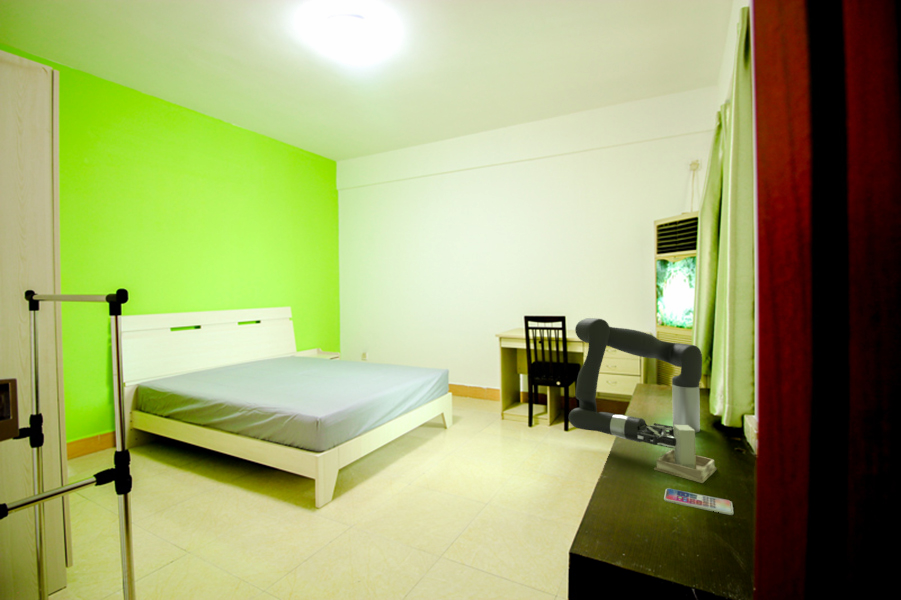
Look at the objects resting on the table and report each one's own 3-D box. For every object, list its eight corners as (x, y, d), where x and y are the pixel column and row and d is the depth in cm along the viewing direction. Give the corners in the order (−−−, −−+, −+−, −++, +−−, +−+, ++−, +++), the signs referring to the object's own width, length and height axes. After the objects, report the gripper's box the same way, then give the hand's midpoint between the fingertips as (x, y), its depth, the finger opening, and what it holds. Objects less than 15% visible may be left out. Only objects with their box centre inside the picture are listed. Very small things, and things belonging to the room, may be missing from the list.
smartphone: (733, 513, 100) (663, 499, 108) (733, 517, 100) (663, 502, 108) (732, 500, 107) (665, 487, 114) (732, 504, 107) (665, 490, 114)
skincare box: (696, 472, 123) (696, 430, 123) (680, 471, 124) (679, 430, 124) (689, 463, 130) (688, 424, 130) (673, 463, 131) (672, 423, 130)
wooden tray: (670, 458, 136) (670, 448, 136) (716, 469, 127) (716, 459, 126) (654, 469, 127) (654, 459, 127) (702, 483, 118) (702, 472, 118)
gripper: (618, 420, 135) (672, 432, 123) (636, 411, 144) (688, 421, 132) (618, 444, 135) (672, 457, 123) (637, 433, 144) (689, 445, 133)
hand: (681, 439), depth 128 cm, fingers open, 8 cm apart
